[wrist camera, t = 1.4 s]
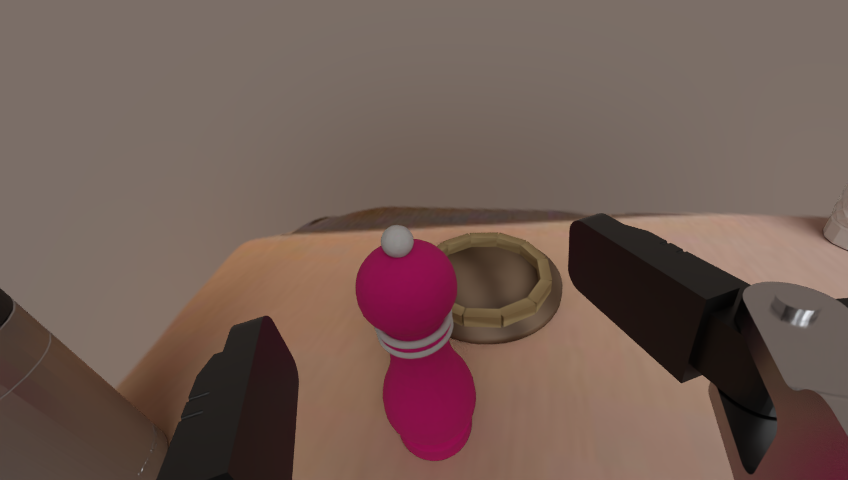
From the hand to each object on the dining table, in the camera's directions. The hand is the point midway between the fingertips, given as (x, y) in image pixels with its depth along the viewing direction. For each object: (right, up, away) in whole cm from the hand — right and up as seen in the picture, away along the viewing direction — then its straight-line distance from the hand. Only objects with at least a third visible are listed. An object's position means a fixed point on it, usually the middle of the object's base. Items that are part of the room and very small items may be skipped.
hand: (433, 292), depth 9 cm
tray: (+7, -4, +33) cm, 34 cm away
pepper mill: (+1, -14, +21) cm, 25 cm away
